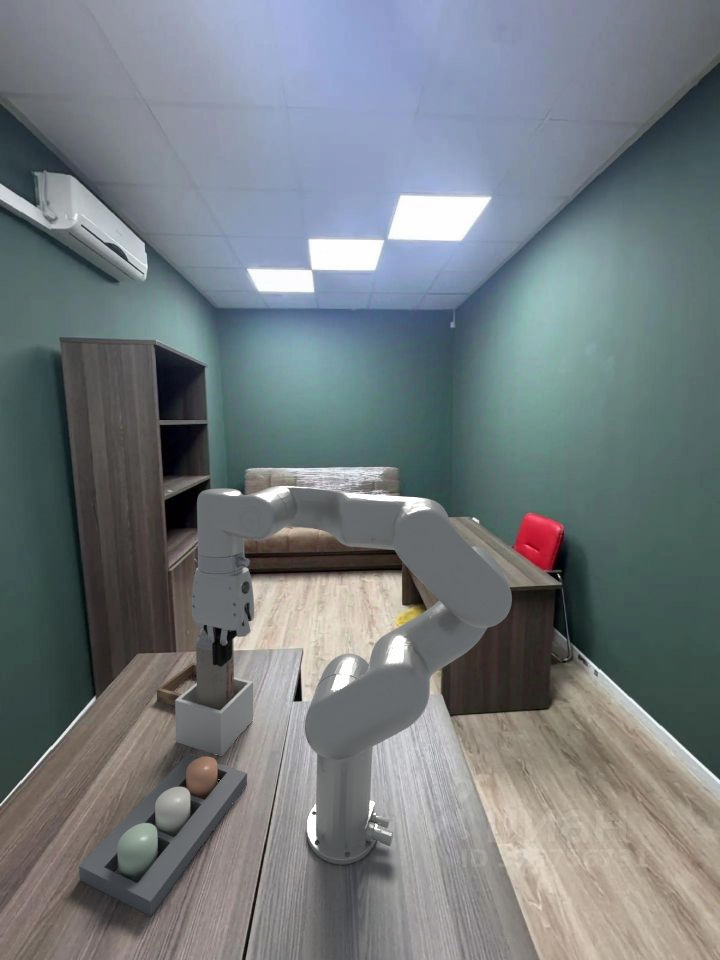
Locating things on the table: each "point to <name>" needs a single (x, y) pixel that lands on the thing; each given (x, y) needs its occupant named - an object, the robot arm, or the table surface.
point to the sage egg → (137, 851)
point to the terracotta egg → (201, 777)
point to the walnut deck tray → (175, 685)
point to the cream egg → (172, 810)
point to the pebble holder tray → (162, 840)
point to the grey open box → (213, 719)
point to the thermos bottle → (213, 676)
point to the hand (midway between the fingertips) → (222, 661)
